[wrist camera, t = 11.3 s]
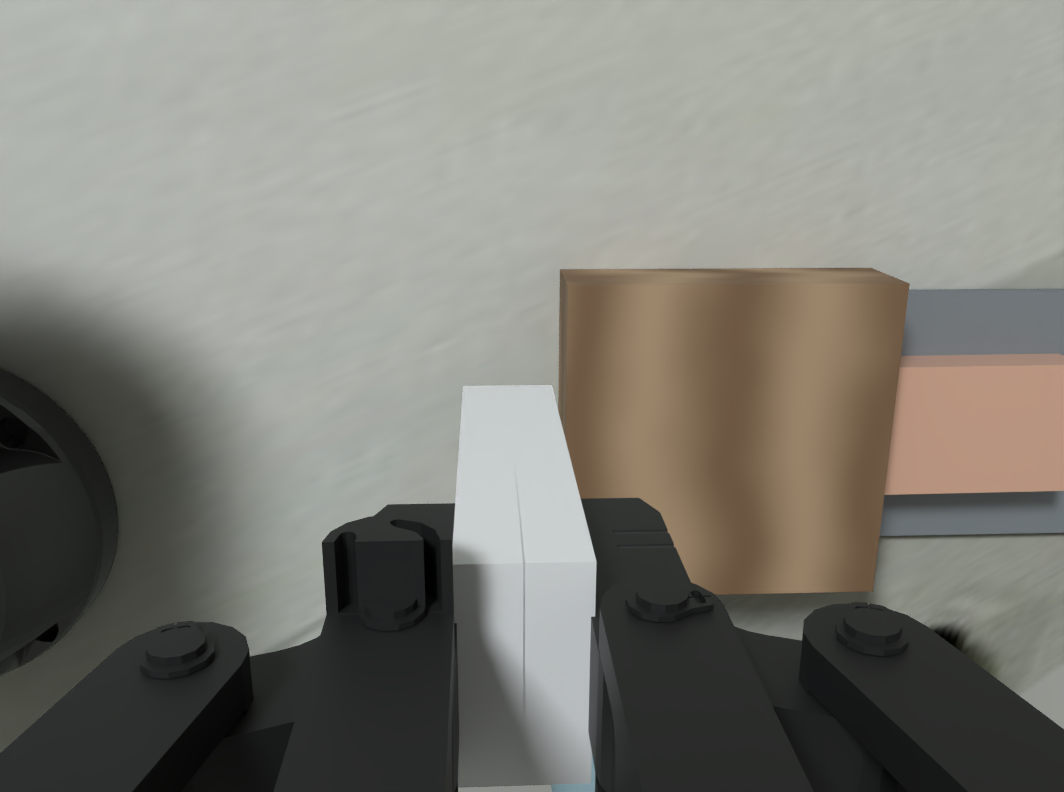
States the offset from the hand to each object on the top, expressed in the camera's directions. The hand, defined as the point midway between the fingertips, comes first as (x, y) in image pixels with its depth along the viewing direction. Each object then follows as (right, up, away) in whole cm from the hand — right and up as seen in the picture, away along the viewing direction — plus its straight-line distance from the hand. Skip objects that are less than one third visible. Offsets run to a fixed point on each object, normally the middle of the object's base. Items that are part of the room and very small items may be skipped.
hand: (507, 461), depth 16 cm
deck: (+9, 0, +28) cm, 29 cm away
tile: (+20, 0, +28) cm, 35 cm away
